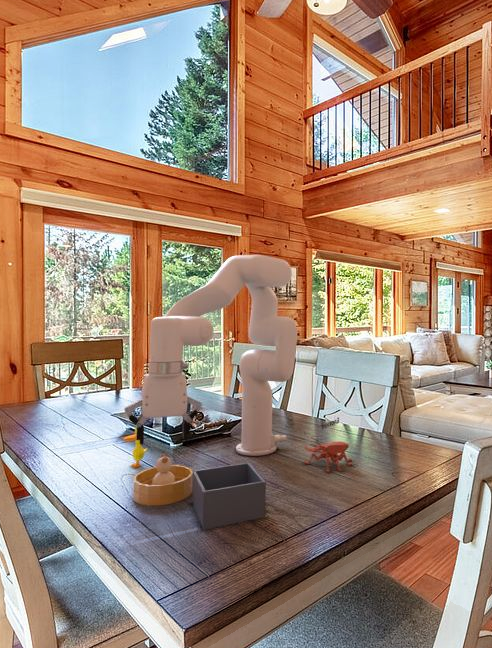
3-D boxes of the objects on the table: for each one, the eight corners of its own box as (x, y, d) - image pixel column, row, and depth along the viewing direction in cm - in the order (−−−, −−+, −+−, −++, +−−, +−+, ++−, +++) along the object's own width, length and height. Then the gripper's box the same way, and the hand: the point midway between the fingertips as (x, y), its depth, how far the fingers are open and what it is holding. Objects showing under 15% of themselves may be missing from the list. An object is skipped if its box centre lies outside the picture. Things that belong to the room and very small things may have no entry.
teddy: (173, 487, 110) (174, 450, 110) (176, 495, 106) (177, 457, 106) (150, 491, 108) (151, 453, 108) (152, 499, 103) (153, 460, 103)
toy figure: (125, 471, 122) (127, 426, 122) (120, 467, 125) (121, 424, 125) (150, 464, 127) (151, 422, 127) (144, 461, 130) (145, 420, 130)
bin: (248, 493, 108) (249, 462, 109) (265, 517, 97) (265, 481, 97) (191, 504, 103) (192, 470, 103) (202, 530, 91) (203, 492, 91)
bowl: (187, 481, 116) (188, 462, 116) (196, 501, 104) (197, 480, 104) (131, 490, 110) (132, 469, 110) (134, 512, 98) (134, 489, 98)
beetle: (359, 462, 131) (360, 419, 132) (335, 475, 121) (335, 428, 121) (318, 452, 140) (319, 411, 140) (293, 463, 130) (293, 419, 130)
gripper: (200, 365, 115) (198, 433, 114) (125, 368, 107) (122, 440, 106) (205, 369, 108) (203, 440, 107) (126, 371, 100) (123, 449, 99)
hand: (163, 440), depth 107 cm, fingers open, 9 cm apart
